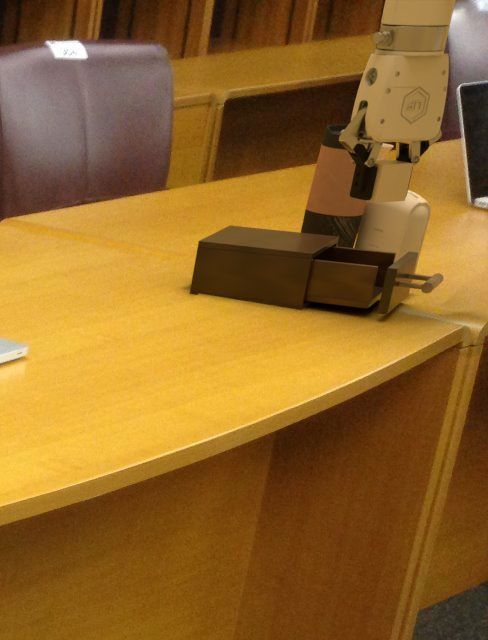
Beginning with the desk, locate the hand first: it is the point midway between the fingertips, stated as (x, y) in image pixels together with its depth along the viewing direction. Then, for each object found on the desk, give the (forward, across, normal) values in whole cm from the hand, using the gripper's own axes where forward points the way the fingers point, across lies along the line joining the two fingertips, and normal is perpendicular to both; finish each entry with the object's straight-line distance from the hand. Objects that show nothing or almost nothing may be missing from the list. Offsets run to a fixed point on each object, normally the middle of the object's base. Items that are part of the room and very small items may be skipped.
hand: (377, 196), depth 192 cm
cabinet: (+15, -3, +14) cm, 21 cm away
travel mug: (+15, +15, +25) cm, 33 cm away
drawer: (+14, +5, +4) cm, 16 cm away
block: (0, 0, 0) cm, 0 cm away
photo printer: (+15, +21, +19) cm, 32 cm away
